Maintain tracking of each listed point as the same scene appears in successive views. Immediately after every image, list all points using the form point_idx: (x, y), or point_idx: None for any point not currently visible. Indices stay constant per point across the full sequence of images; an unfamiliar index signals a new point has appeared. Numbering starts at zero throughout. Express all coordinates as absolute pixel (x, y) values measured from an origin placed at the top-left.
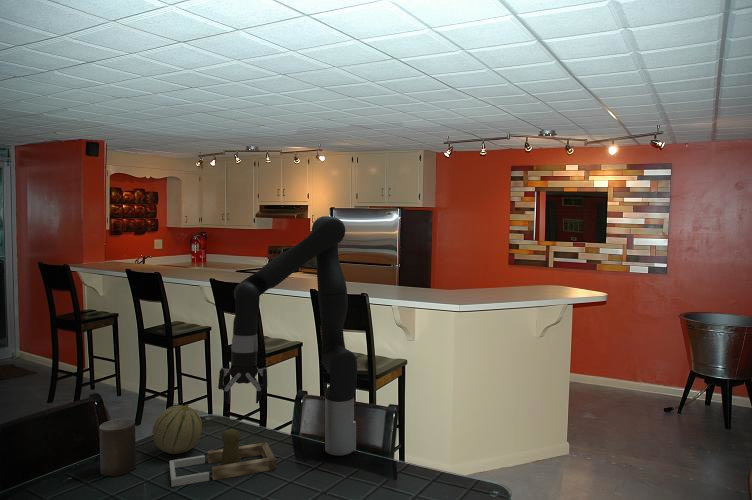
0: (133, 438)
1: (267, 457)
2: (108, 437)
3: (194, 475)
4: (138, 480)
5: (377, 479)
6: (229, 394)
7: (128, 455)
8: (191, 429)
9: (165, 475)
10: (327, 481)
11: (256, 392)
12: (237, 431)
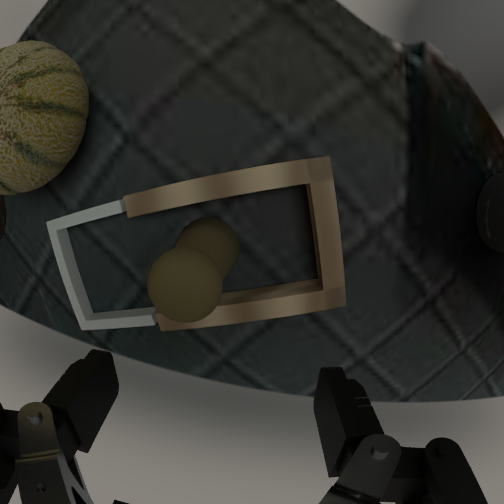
0: None
1: (323, 287)
2: None
3: (122, 325)
4: (26, 272)
5: (494, 359)
6: (89, 409)
7: None
8: (38, 168)
9: None
10: (428, 364)
11: (328, 470)
12: (209, 299)
